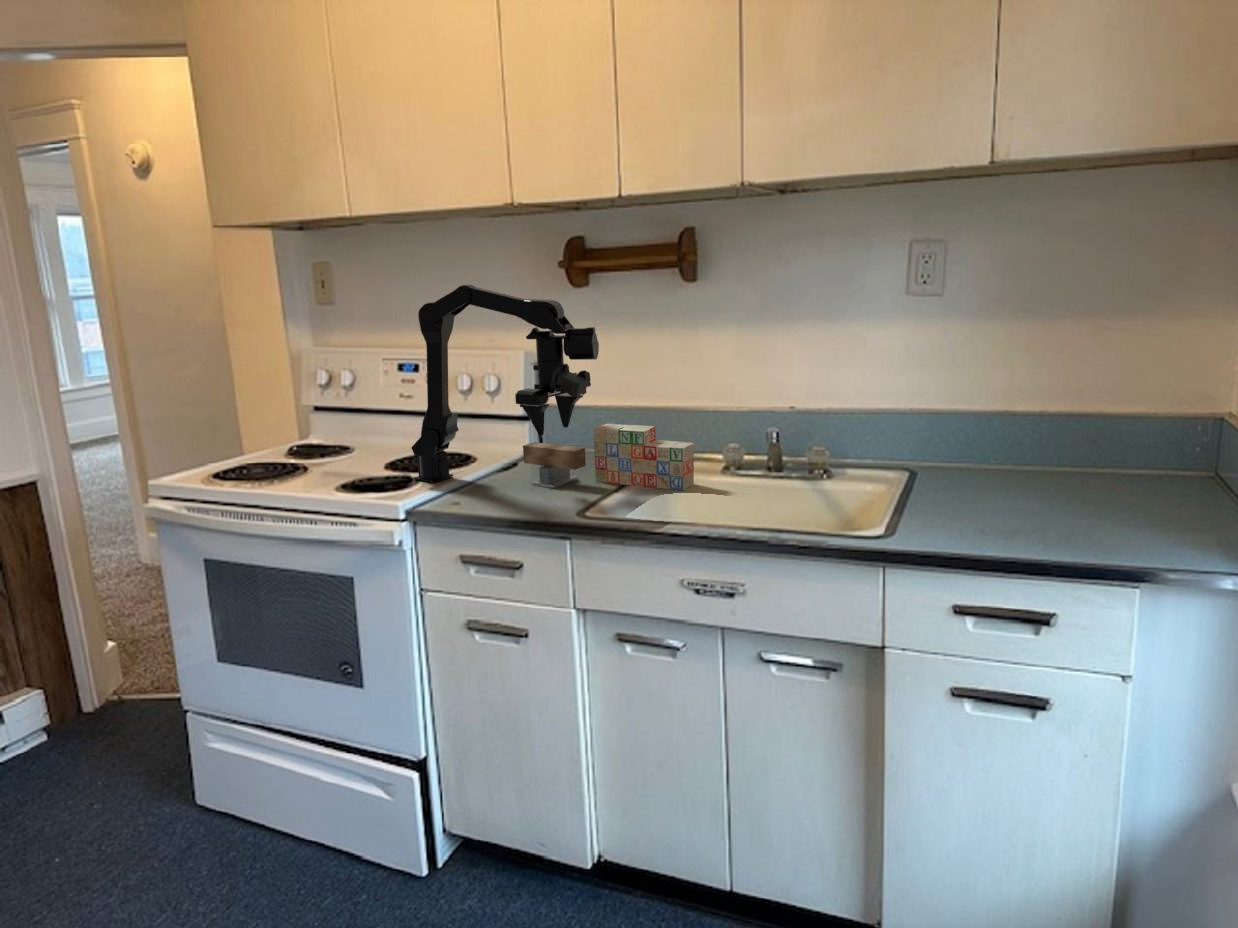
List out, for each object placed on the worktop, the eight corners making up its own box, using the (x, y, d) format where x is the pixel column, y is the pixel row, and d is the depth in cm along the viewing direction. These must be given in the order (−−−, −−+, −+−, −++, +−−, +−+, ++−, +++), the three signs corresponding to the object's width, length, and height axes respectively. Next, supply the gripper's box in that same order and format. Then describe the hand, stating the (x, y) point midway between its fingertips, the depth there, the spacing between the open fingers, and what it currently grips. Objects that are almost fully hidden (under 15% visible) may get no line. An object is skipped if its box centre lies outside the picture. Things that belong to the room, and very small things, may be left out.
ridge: (532, 485, 190) (531, 467, 189) (556, 476, 198) (555, 458, 197) (554, 488, 187) (553, 470, 186) (577, 478, 195) (577, 461, 194)
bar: (523, 463, 194) (522, 445, 193) (534, 459, 197) (534, 442, 196) (575, 469, 186) (574, 451, 185) (585, 465, 189) (584, 447, 189)
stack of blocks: (694, 484, 188) (694, 428, 185) (683, 491, 182) (682, 434, 180) (608, 475, 198) (606, 422, 195) (594, 481, 192) (592, 427, 189)
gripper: (555, 366, 174) (558, 442, 178) (605, 356, 190) (607, 426, 193) (511, 364, 180) (516, 438, 184) (563, 354, 195) (566, 422, 199)
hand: (553, 431), depth 190 cm, fingers open, 9 cm apart
